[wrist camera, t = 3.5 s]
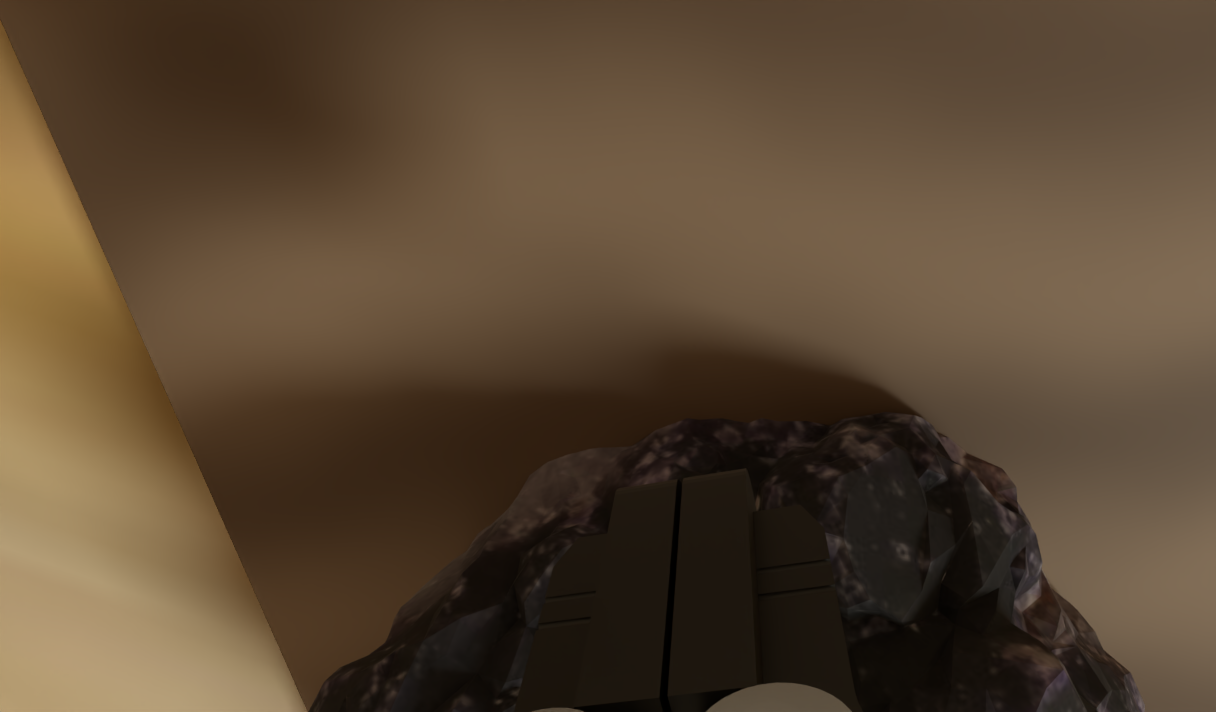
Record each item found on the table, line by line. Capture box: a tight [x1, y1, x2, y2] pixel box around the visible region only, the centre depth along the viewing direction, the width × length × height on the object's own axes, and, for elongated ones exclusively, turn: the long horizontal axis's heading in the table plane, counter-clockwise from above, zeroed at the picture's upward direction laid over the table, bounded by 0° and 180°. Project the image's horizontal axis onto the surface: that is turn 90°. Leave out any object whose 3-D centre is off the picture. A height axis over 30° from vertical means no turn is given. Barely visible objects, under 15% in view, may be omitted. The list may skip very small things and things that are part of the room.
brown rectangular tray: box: [0, 0, 1216, 712], centre depth 15 cm, size 26×20×6 cm
